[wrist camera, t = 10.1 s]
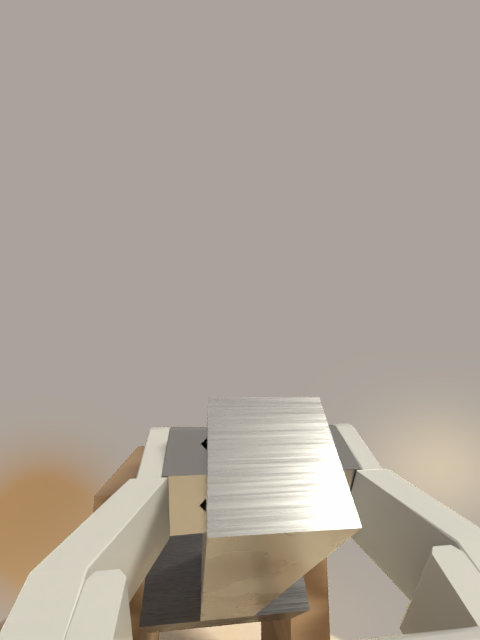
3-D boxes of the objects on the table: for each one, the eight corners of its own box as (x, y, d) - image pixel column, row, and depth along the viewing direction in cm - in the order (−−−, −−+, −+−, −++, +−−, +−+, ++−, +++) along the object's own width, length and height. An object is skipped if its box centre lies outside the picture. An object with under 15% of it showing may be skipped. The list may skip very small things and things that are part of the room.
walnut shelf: (51, 1000, 16) (94, 496, 21) (121, 713, 30) (138, 446, 35) (355, 931, 18) (334, 486, 23) (291, 692, 32) (286, 443, 37)
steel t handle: (10, 550, 4) (95, 346, 7) (148, 633, 16) (158, 542, 19) (511, 518, 5) (399, 349, 8) (292, 618, 17) (279, 534, 20)
